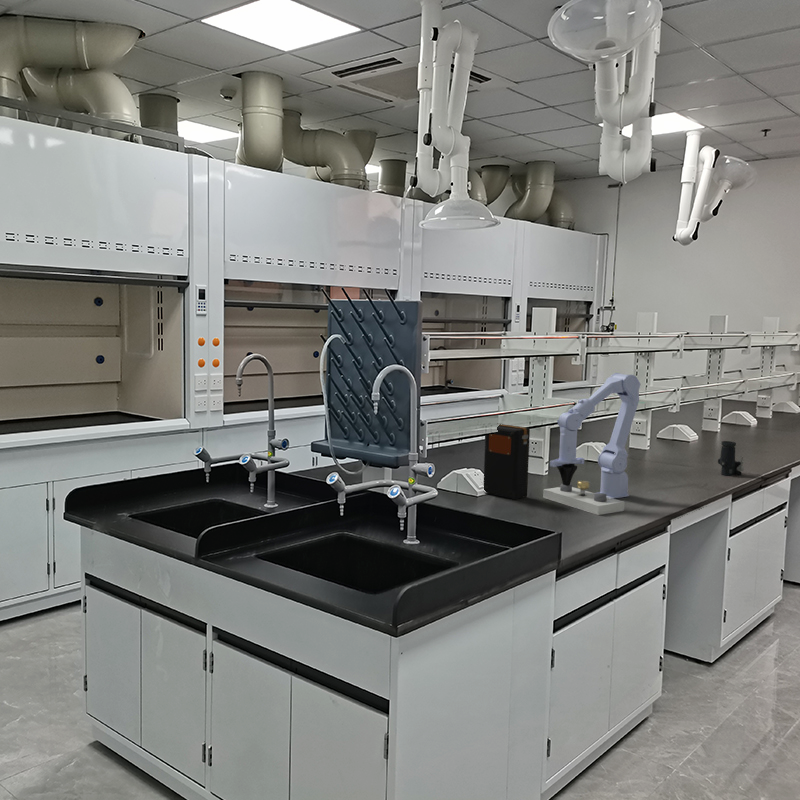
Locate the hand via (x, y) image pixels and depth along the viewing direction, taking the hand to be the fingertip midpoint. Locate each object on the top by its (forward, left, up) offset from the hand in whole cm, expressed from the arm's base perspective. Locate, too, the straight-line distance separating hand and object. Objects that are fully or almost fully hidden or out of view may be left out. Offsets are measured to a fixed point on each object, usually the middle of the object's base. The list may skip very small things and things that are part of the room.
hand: (566, 485), depth 258 cm
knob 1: (0, 0, -5) cm, 5 cm away
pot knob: (0, +8, -2) cm, 8 cm away
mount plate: (0, +8, -5) cm, 9 cm away
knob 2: (0, +16, -5) cm, 17 cm away
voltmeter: (+16, -14, -5) cm, 22 cm away
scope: (-92, 0, -5) cm, 92 cm away
